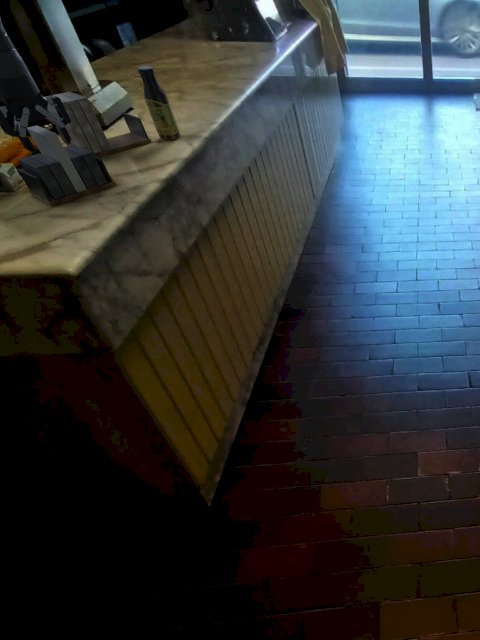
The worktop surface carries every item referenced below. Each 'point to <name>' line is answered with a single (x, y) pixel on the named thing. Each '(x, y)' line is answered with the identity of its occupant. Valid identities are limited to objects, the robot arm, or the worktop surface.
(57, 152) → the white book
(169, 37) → the worktop surface
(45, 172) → the grey book rack
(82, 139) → the grey book stand
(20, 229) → the worktop surface
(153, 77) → the sauce bottle
